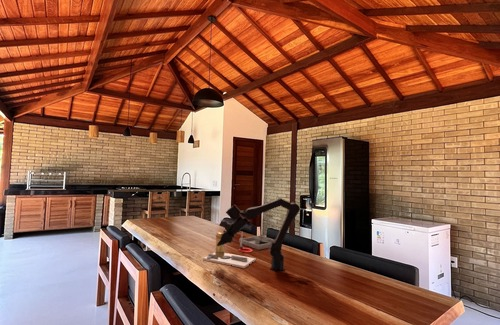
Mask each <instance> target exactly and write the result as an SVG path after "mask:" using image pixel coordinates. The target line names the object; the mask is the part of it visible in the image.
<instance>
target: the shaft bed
mask: <svg viewBox="0 0 500 325" xmlns="http://www.w3.org/2000/svg"><path fill="white" fill-rule="evenodd" d="M202 260H203V261H206V262H211V263H216V264H221V265H226V266H231V265H232V266H233V267H236V268H240V269H246V268H247V267H248V266H250V265H251V264H252V262H253V263H254V262H255V261H256V260H257V259H256V257H250V256H249V257H248V256H246V255H245V256H243V255H238V254H234V253H233V254H232V253H226V252H225V254H224V257H221V258H218V257H216V255H215V252H213V253H208V255H206V256H205V257H203V258H202ZM249 264H250V265H249Z"/></svg>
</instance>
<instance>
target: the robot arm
mask: <svg viewBox="0 0 500 325" xmlns="http://www.w3.org/2000/svg"><path fill="white" fill-rule="evenodd" d="M278 207H282V208H284V209H286V212H285V213H286V214H285V215H286V216H285V217H284V220H283V223H282V225H281V227H280V228H279V231H278V233H277V236H276V238H275V239H274V241H273V240H271V244H270V245H269V248H268V250H269V254H270V256H271V265H270V266H271V267H269V269H270V270H272V271H274V270H275V271H274V272H277V271H279V272H282V270H283V271H285V270H286V268H284V262H285V259H284V258H285V257H284V254H283V252H282V247H283V242H284V240H285V238H286V235H287V234H288V230H289V228H290V227H291V224H292V222H293V220H294V219H295V218H296V217H297V216H298V214H299V212H300V209H301V208H300V206H299V204H298V203H296V202H290V201H286V200H285V199H282V198H280V197H279V198H277V199H275V200H272V201H269V202H267V203H264V204H261V205H260V206H252V207H248V208H246V209H244V210H240V208H238V207H237V205H236V204H233V205H232V206H231V207H229V208H228V209H227V210H226V211H225V214H227V215H228V217H229V218H230V219H231V220H235V221H232V222H229V221H227V220H225V219H221V220H220V223H219V226H220V227H221V228H223V229H224V230H223V231H222V232H224V233H223V234H222V238H221V240H220V241H219V242H218V244H217V246H220V245H223V244H224V245H225V244H231V243H232V242H233V239H234V238H235V236H236V235H237V234H238V233H240V231H241V230H242V229H243V228H244V227H246V225H247V226H249V227H250V226H251V220H253V219H255V218H257V217H258V216H260V215H261V214H262V213H265V212H268V211H271V210H273V209H276V208H278Z"/></svg>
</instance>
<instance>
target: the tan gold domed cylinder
mask: <svg viewBox="0 0 500 325" xmlns="http://www.w3.org/2000/svg"><path fill="white" fill-rule="evenodd" d="M223 233H224V232H223V231H221V232H220V231H219V232H216V234H215V239H216V240H215V251H214V253H215V255H216V257H218V258H221V257H224V254H225V253H226V252H225V244H223V245H220V246H217V244H218V242H219V241H220V240H221V238H222V234H223Z"/></svg>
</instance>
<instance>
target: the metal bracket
mask: <svg viewBox="0 0 500 325" xmlns="http://www.w3.org/2000/svg"><path fill="white" fill-rule="evenodd" d="M256 236H257V235H254V236H253V237H254V238H253V239H256V240H255V244H257V245H259V242H258V241H260V240H262V241H266V242H269V241H268V239H264V238H262V239H261V238H260V237H256Z"/></svg>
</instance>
